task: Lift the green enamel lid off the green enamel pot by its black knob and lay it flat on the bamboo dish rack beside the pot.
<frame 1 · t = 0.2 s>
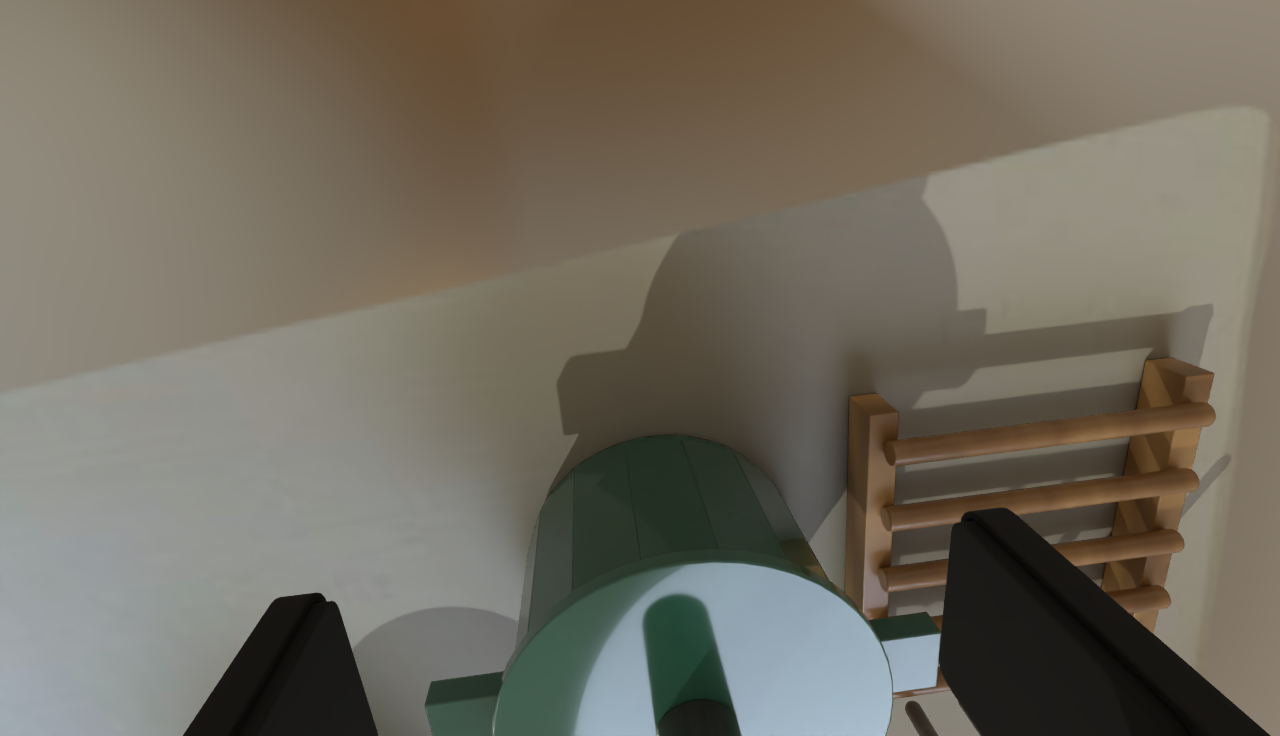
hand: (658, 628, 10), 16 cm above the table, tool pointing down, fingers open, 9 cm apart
dish rack: (994, 526, 29), on the table
pot: (662, 552, 28), on the table
lid: (694, 714, 20), point 8 cm above the table, touching pot
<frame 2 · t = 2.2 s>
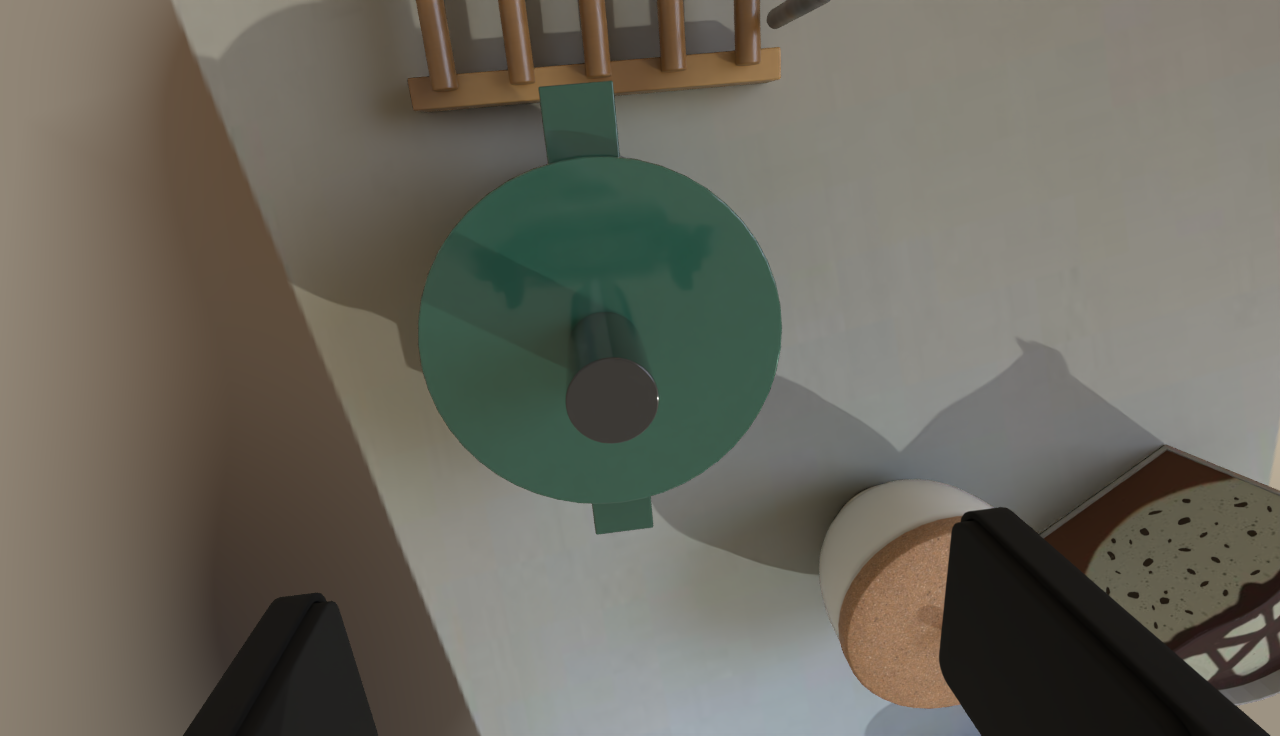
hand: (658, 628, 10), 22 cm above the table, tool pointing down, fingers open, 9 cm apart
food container: (1115, 523, 39), on the table
trinket box: (880, 526, 37), on the table
pot: (596, 288, 30), on the table
lid: (604, 342, 23), point 8 cm above the table, touching pot
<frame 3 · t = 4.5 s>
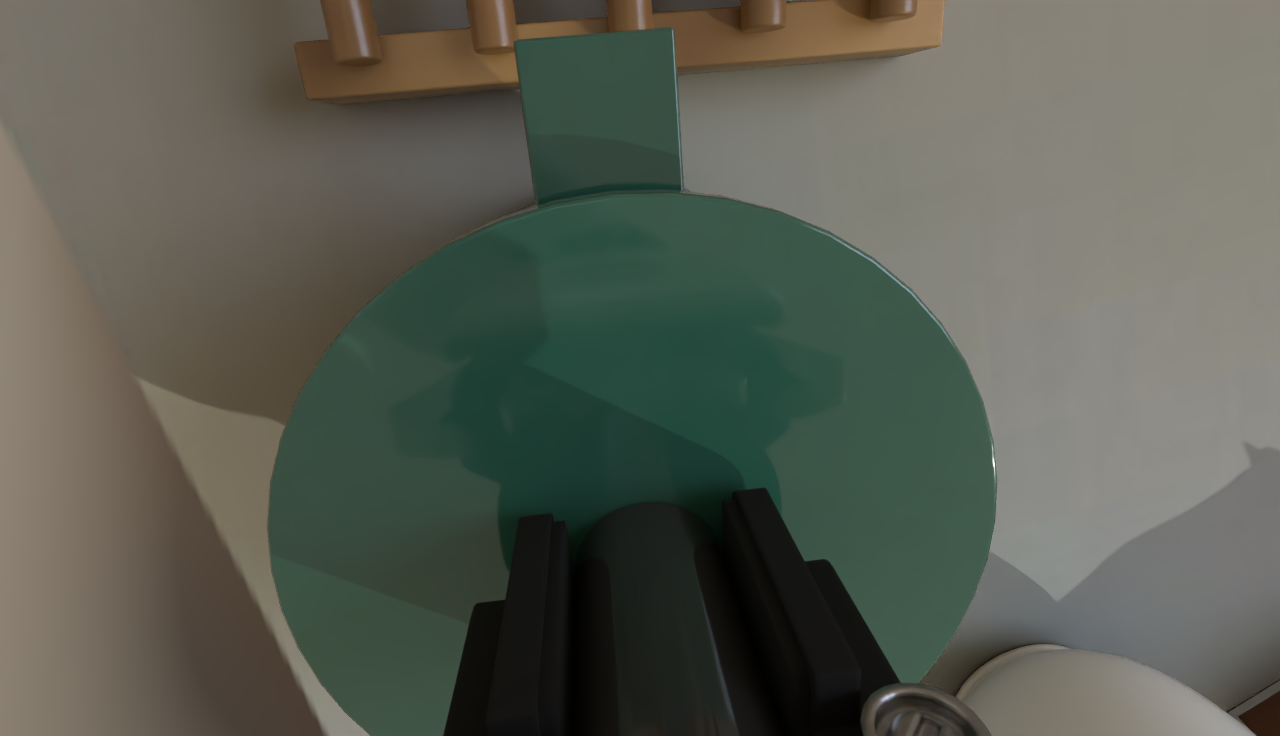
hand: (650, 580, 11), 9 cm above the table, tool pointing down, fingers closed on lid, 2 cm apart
trinket box: (1019, 698, 26), on the table
pot: (619, 379, 20), on the table
lid: (645, 544, 12), point 9 cm above the table, touching gripper, pot
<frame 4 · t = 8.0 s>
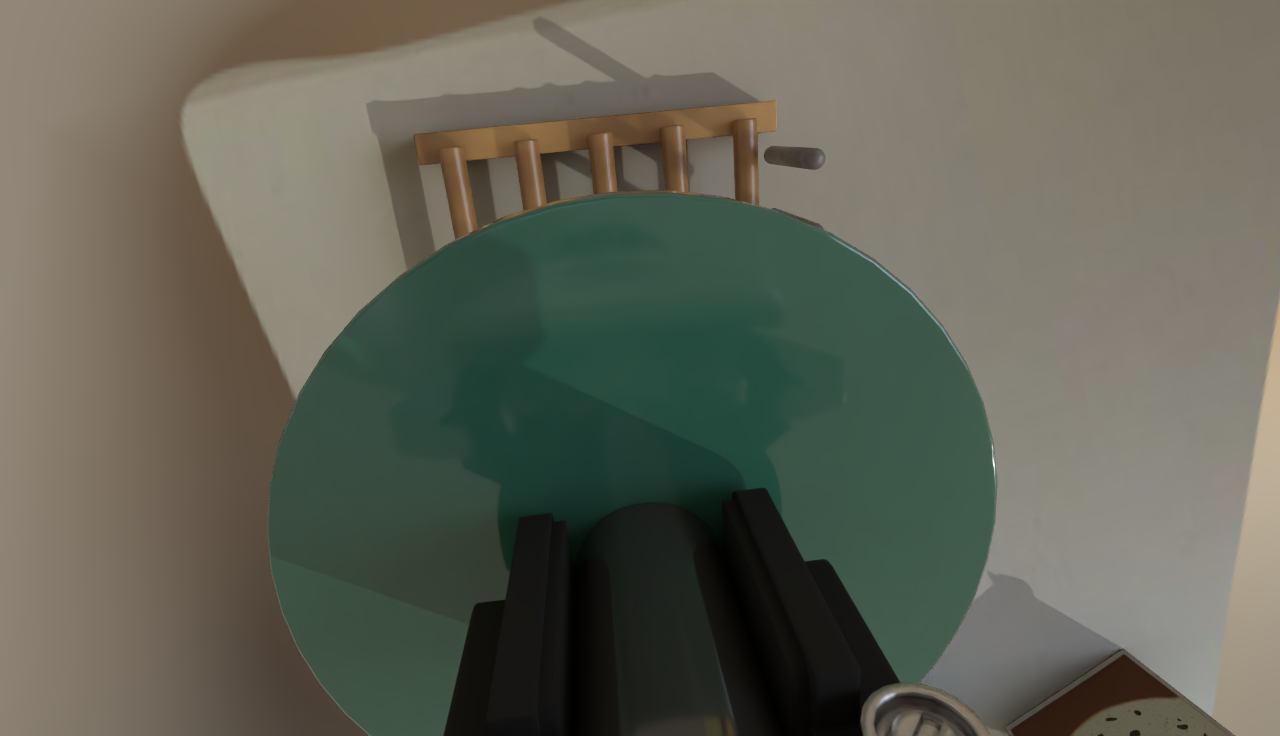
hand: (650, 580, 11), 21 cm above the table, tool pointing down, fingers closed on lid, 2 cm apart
dish rack: (613, 277, 30), on the table
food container: (1081, 709, 44), on the table
lid: (645, 545, 12), point 20 cm above the table, touching gripper
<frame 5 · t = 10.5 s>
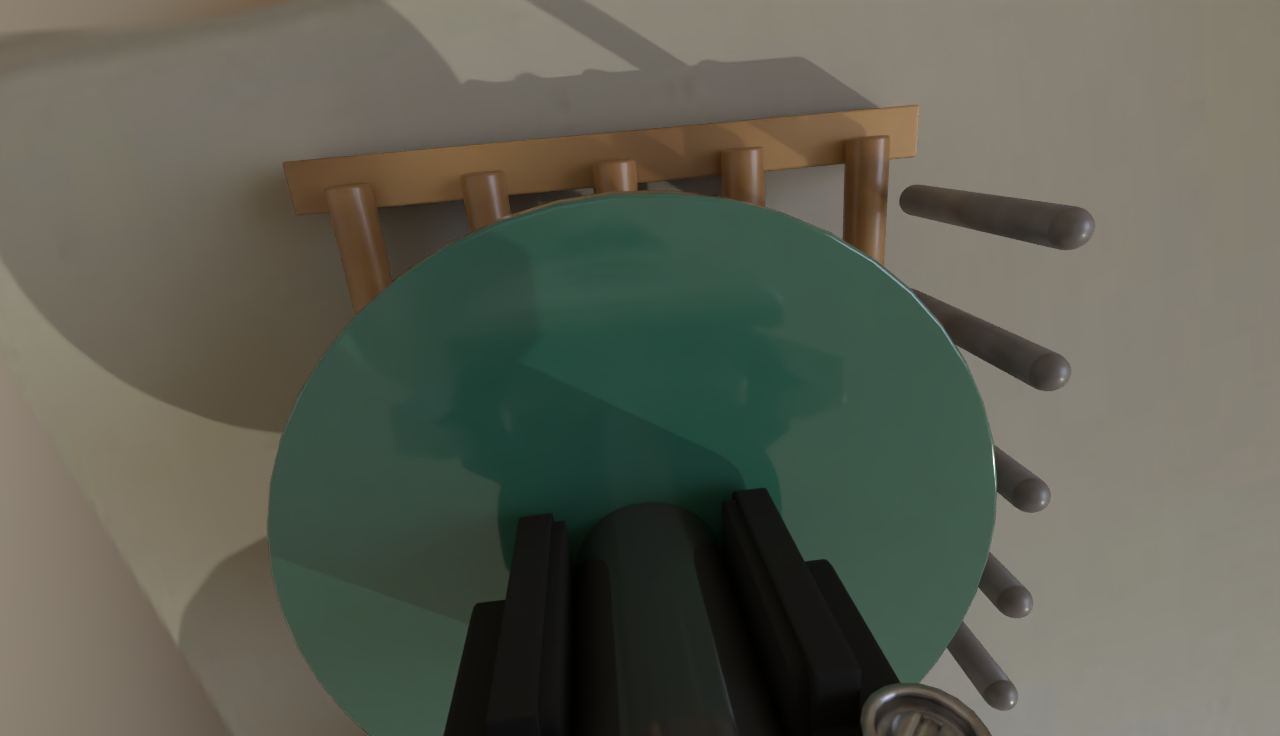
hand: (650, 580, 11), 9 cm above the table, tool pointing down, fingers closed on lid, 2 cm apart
dish rack: (630, 382, 19), on the table
lid: (645, 545, 12), point 8 cm above the table, touching gripper
when the fingers open (5 cm above the table, at t = 11.8 s): lid stays where it is, resting on dish rack.
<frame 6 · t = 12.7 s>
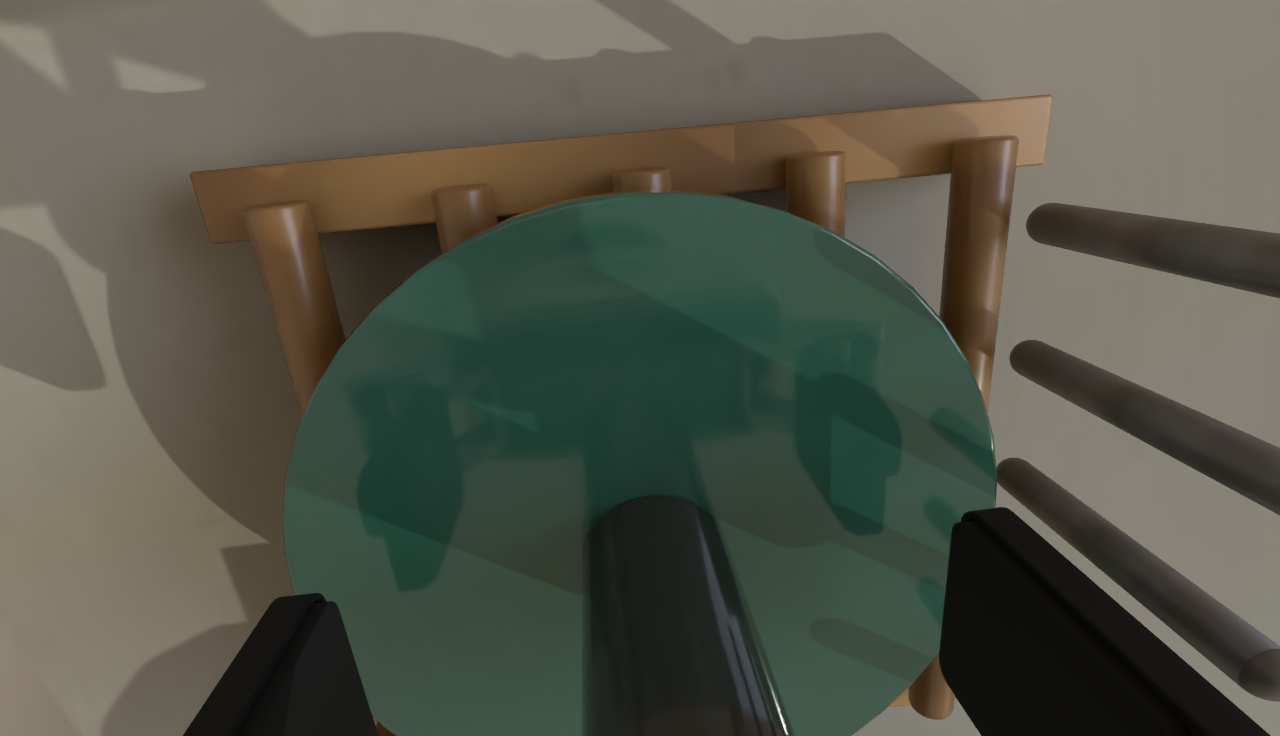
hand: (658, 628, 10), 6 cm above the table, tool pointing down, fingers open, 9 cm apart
dish rack: (654, 446, 15), on the table
lid: (651, 538, 12), point 4 cm above the table, touching dish rack
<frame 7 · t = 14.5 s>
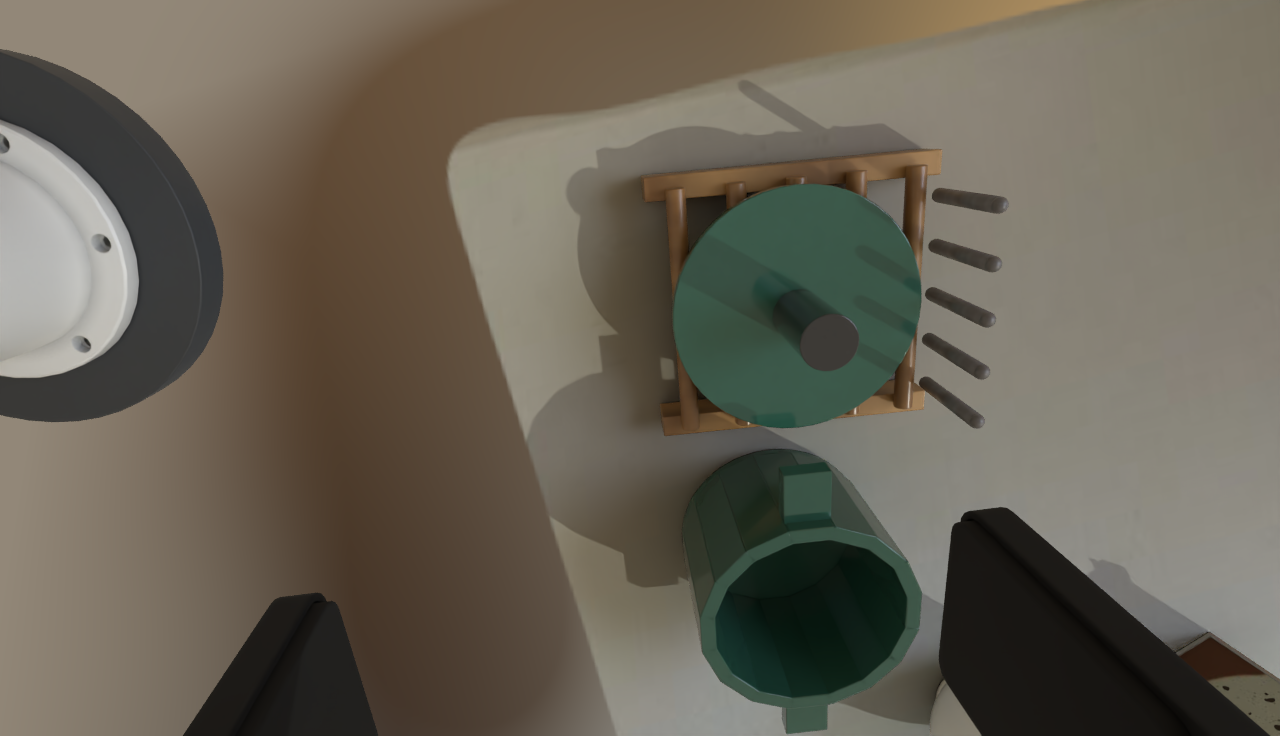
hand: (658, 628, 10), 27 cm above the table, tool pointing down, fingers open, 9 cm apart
dish rack: (784, 293, 36), on the table
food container: (1167, 687, 48), on the table
trinket box: (974, 689, 47), on the table
pot: (771, 529, 41), on the table
lid: (794, 311, 32), point 4 cm above the table, touching dish rack
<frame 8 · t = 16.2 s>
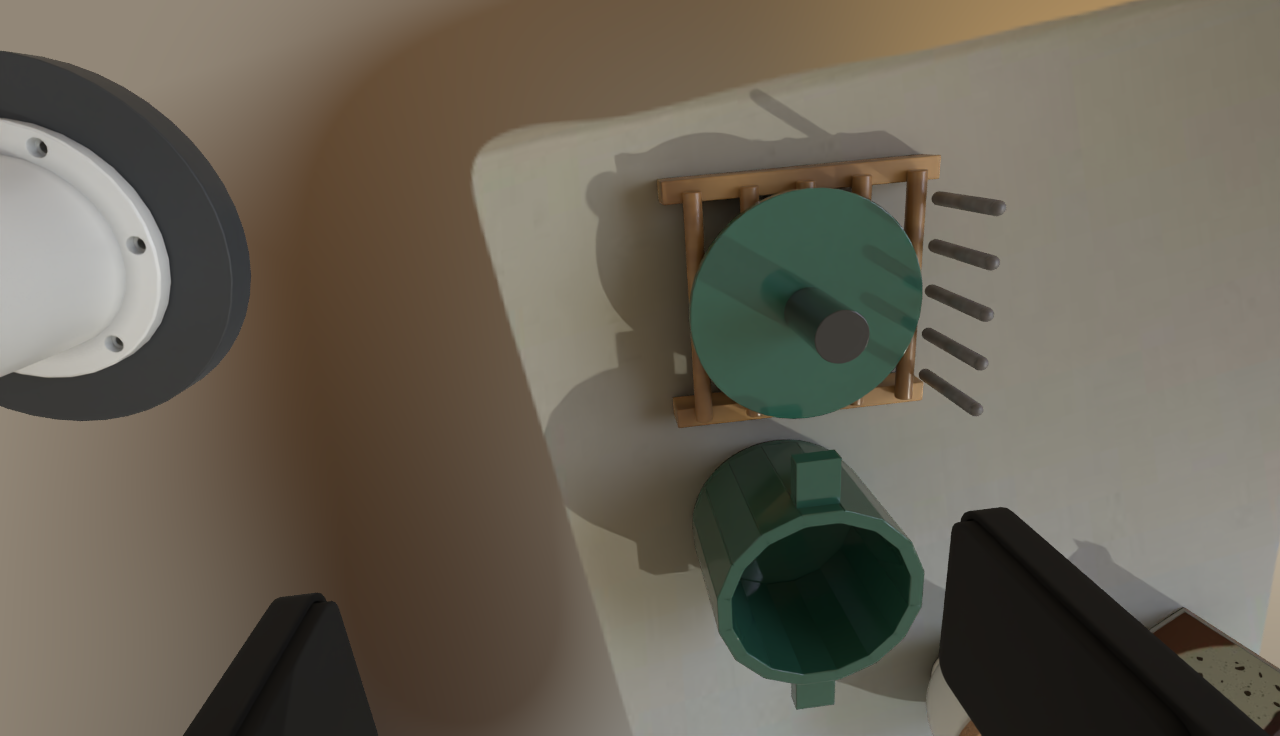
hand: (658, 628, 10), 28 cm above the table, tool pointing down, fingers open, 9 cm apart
dish rack: (791, 291, 38), on the table
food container: (1145, 661, 51), on the table
trinket box: (967, 667, 49), on the table
pot: (777, 516, 43), on the table
lid: (804, 307, 34), point 4 cm above the table, touching dish rack
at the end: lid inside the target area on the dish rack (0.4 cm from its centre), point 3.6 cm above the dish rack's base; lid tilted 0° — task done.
